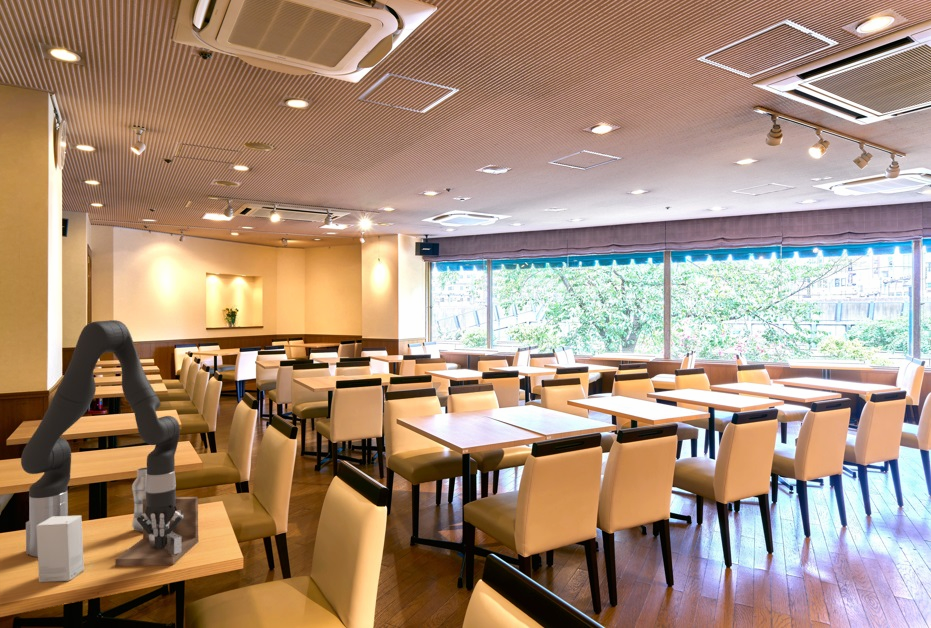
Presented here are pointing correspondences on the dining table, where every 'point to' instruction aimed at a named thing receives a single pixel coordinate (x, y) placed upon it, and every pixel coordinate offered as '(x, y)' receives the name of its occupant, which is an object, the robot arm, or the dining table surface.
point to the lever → (169, 542)
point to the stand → (152, 556)
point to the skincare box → (60, 548)
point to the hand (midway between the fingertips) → (161, 548)
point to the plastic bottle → (139, 496)
